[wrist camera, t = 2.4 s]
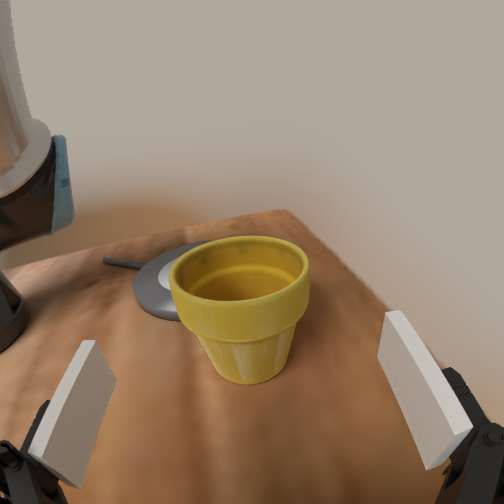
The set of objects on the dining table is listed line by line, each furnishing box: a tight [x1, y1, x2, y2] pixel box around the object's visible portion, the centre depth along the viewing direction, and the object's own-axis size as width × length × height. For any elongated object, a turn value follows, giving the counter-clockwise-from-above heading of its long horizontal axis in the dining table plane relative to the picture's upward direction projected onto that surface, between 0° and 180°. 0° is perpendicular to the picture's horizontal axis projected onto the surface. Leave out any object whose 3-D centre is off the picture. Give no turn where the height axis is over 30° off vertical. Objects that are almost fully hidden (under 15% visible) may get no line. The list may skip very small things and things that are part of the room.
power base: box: [102, 240, 215, 322], centre depth 42 cm, size 30×18×2 cm, turn 67°
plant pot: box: [169, 236, 310, 385], centre depth 24 cm, size 10×10×10 cm
